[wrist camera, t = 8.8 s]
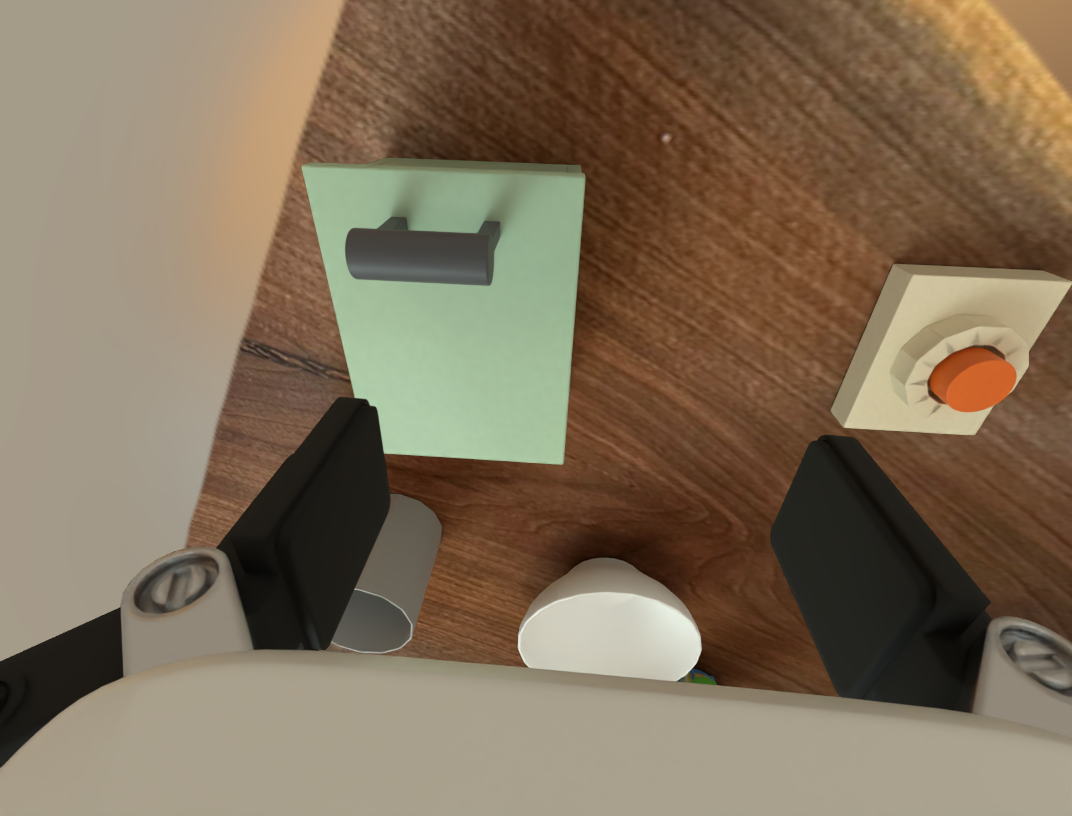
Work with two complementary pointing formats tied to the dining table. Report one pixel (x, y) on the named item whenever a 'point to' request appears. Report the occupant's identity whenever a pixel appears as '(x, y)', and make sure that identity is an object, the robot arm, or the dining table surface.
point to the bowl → (610, 625)
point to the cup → (392, 580)
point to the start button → (972, 379)
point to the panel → (940, 341)
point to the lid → (455, 302)
